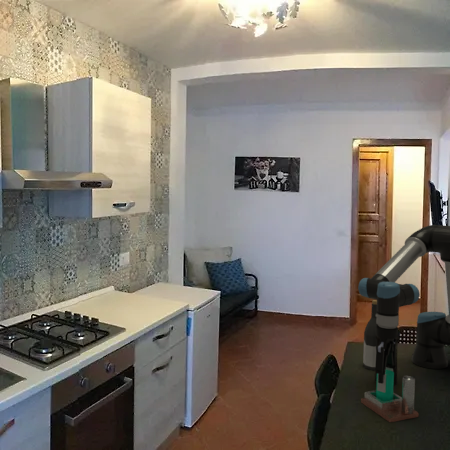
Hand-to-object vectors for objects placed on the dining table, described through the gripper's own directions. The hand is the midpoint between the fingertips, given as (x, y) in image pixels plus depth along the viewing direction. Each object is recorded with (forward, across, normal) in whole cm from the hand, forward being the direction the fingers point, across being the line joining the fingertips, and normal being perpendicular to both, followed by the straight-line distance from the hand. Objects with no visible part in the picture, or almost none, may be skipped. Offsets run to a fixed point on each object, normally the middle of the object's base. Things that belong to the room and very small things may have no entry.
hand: (384, 388), depth 173 cm
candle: (+5, 0, 0) cm, 5 cm away
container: (+7, -22, -8) cm, 24 cm away
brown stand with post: (+7, +1, +2) cm, 7 cm away
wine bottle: (+7, -34, -19) cm, 39 cm away
